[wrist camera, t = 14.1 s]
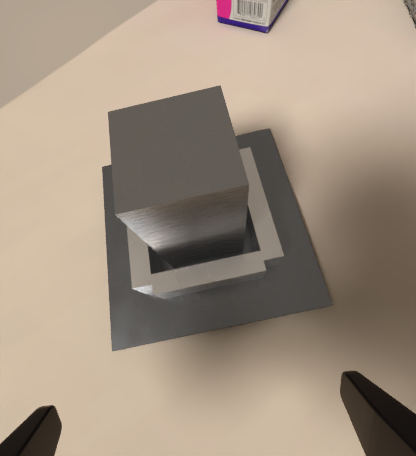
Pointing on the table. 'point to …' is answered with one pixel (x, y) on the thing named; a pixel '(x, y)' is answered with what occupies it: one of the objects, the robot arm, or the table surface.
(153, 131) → the block
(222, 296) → the square socket
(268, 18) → the supplement box
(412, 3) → the graphics card
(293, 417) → the table surface
